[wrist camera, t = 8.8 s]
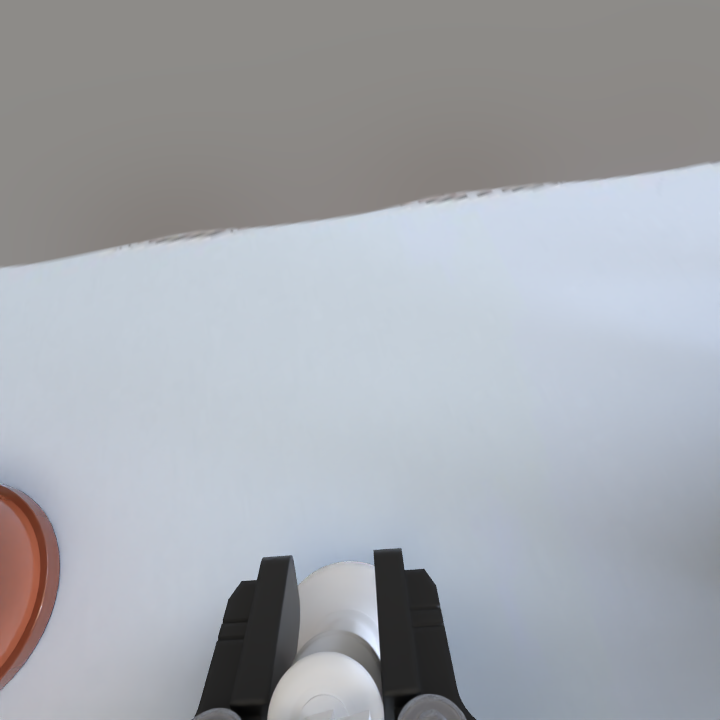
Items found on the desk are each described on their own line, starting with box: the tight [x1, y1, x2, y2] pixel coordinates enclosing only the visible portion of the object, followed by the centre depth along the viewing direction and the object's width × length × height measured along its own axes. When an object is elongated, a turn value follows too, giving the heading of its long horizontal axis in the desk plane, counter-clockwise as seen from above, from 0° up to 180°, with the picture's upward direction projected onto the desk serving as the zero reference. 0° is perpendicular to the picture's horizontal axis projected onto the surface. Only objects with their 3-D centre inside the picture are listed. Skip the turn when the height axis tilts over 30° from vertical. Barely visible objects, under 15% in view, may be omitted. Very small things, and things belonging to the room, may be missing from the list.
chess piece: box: [267, 561, 384, 720], centre depth 11 cm, size 5×5×10 cm
